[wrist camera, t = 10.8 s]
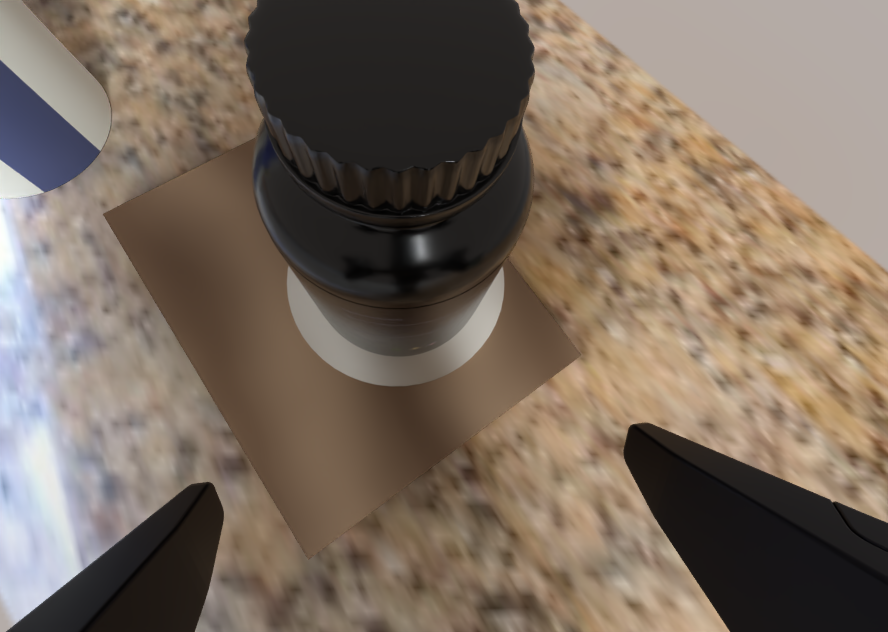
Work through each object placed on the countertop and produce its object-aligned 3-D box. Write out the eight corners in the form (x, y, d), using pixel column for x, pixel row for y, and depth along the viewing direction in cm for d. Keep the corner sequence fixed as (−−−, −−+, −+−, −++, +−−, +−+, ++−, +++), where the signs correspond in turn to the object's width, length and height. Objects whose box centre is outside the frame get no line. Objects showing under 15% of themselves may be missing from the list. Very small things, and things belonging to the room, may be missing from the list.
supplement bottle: (304, 218, 19) (160, -112, 8) (460, 195, 20) (540, -127, 9) (327, 377, 18) (190, 262, 6) (496, 345, 19) (654, 192, 7)
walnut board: (316, 549, 18) (307, 560, 16) (124, 229, 20) (99, 211, 18) (568, 361, 20) (583, 354, 19) (373, 102, 23) (370, 76, 21)
